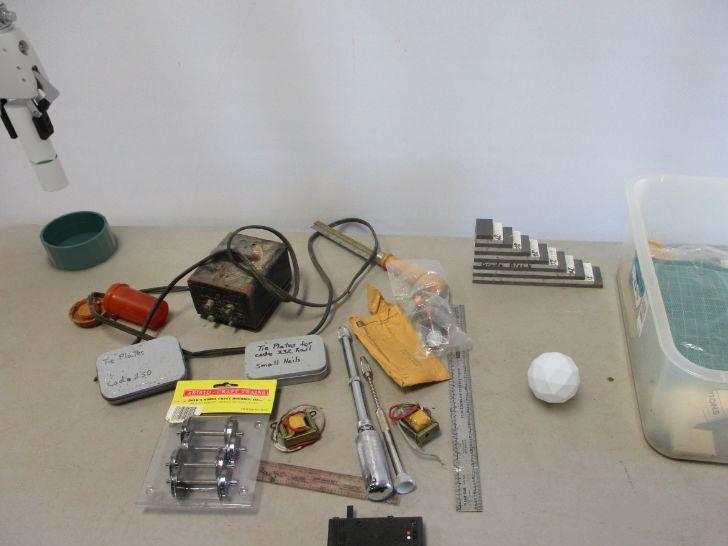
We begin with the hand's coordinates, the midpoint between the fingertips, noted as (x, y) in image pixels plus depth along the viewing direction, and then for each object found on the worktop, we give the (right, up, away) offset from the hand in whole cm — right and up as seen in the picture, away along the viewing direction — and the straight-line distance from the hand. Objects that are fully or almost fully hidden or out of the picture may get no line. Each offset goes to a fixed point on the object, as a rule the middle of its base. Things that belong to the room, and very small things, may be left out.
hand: (32, 134), depth 97 cm
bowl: (-2, -18, +20) cm, 27 cm away
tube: (0, -7, +7) cm, 10 cm away
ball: (+84, -42, -5) cm, 94 cm away
